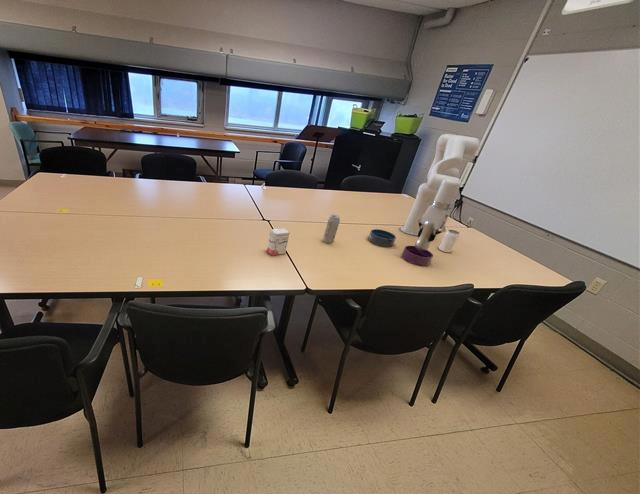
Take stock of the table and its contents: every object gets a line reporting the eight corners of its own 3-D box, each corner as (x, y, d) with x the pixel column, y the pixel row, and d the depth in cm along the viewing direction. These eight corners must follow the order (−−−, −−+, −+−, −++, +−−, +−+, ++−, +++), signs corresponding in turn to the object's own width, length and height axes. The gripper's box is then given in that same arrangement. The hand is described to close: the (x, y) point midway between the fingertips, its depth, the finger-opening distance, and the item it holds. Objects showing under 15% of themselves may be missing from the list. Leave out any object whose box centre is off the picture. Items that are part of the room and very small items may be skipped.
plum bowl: (411, 251, 180) (414, 244, 177) (434, 263, 170) (438, 255, 167) (396, 255, 173) (399, 247, 170) (419, 268, 163) (423, 259, 160)
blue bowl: (378, 235, 195) (380, 228, 193) (397, 245, 186) (401, 237, 183) (363, 238, 188) (365, 230, 186) (382, 248, 179) (385, 240, 176)
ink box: (271, 255, 155) (275, 233, 149) (266, 251, 159) (270, 229, 152) (285, 253, 159) (290, 232, 153) (280, 249, 163) (284, 228, 156)
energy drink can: (333, 244, 176) (341, 219, 167) (322, 242, 176) (329, 217, 168) (332, 240, 181) (340, 215, 173) (322, 238, 181) (329, 213, 173)
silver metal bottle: (428, 253, 165) (446, 217, 154) (414, 250, 166) (431, 214, 155) (424, 248, 170) (441, 213, 160) (411, 245, 171) (427, 210, 160)
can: (448, 249, 190) (458, 230, 183) (451, 253, 184) (461, 234, 178) (437, 246, 191) (446, 228, 185) (439, 250, 186) (448, 232, 179)
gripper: (461, 210, 151) (444, 244, 161) (428, 199, 163) (414, 231, 172) (453, 212, 147) (436, 246, 157) (420, 200, 159) (406, 233, 169)
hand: (425, 238), depth 165 cm, fingers closed on silver metal bottle, 5 cm apart
